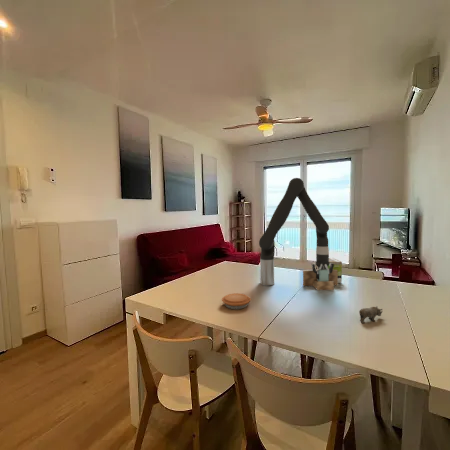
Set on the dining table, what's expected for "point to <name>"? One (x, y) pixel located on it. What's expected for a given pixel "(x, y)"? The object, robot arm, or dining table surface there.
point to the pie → (236, 301)
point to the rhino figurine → (369, 313)
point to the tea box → (337, 268)
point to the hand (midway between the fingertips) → (322, 279)
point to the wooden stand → (311, 280)
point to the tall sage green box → (323, 275)
